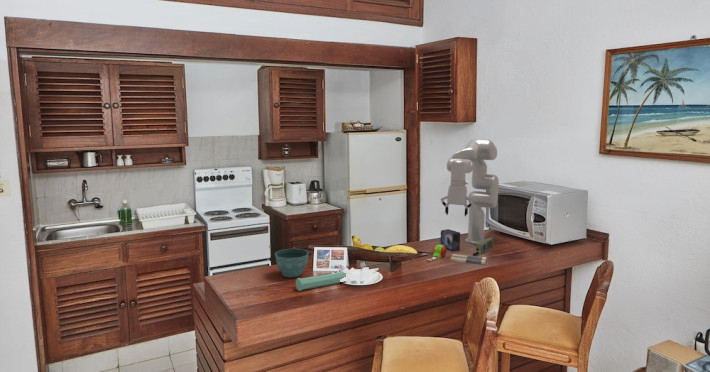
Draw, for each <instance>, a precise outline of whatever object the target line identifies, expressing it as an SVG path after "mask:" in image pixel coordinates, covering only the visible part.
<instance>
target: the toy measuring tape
mask: <svg viewBox="0 0 710 372" xmlns="http://www.w3.org/2000/svg"><path fill="white" fill-rule="evenodd" d="M446 254H447V249H445V247H444V246H443V245H440V244H436V245H435V246H434V248H433V255H432V258H427V259H426V262H429V263H430V262H432V261H434V260H436V259H438V258H439V259H440V258H441V259H442V258H443V257H444V256H445V255H446ZM431 259H433V260H431Z"/></svg>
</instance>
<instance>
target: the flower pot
mask: <svg viewBox="0 0 710 372" xmlns="http://www.w3.org/2000/svg"><path fill="white" fill-rule="evenodd" d="M274 256H275V261H276V265H277V267H278V269H279V271H280V273H281V275H282V277H285V278H299V277H300V276H301V275H302V274H303V271H304V270H305V268H306V266H308V265H307V264H308V259H309V251H308V250H305V249H300V248H286V249H281V250H278V251H276V252H275V253H274Z"/></svg>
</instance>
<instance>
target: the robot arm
mask: <svg viewBox="0 0 710 372" xmlns="http://www.w3.org/2000/svg"><path fill="white" fill-rule="evenodd" d="M497 155H498V149H497V146H496V145H495V144H494V142H493V141H492V140H490V139H483V138H482V139H481V138H474V139H471V140H469V141H468V143H467V144H466V146H465V147H464V149H461V150H459V151H456V152H453V153H452V154H451V155H450V157H449V158H448V160H447V162H446V169H447V171H448V172H450V184H449V185H448V191H447V195H446V196H444V197H442V198H440V202H441V203H442V205H443V206H444V207H445V209H444V210H445V211H444V213H446V215H447V216H448V215H449V205H453V206H454V205H456V206H458V205H459V206H463V207H464V217H466V216H467V215H468V223H467V224H468V225H467V226H468V227H467V237H466V238H465V239H464V241H465V242H466V243H468V244H475V245H476V244H477V243H479V242H481V241H483V240H485V239H486V238H484V236H485V219H486V218H485V217H486V215H485V212H484V209H485V208H487V209H494V208H496V207H497V205H498V199H499V184H500V183H499V177H498V176H497V175H496V174H489V173H488V165H487V163H486V162H485V161H494V160H496V158H497V157H498V156H497ZM470 173H472V174H471V186H472V188H473V189H475V190H476V191H471V192H470V193H469V194H468V189H467V185H469V182H468V181H466V174H470ZM479 190H484V191H479ZM485 190H486V191H485ZM487 191H488V192H487ZM445 200H447V201H446V202H447V203H446V202H445ZM467 202H468V204H467ZM482 208H484V209H482Z"/></svg>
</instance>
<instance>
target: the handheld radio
mask: <svg viewBox="0 0 710 372" xmlns="http://www.w3.org/2000/svg"><path fill="white" fill-rule="evenodd" d="M484 239H485V240H483V241H481V242H479V243H477V244H475V250H476V251H475V252H474V253H472V256H480V255H482V254H484V253H487V252H488V251H491V250H492V249H493V248H494V247H493V246H494V237H491V236H489V237H488V238H484Z"/></svg>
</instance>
